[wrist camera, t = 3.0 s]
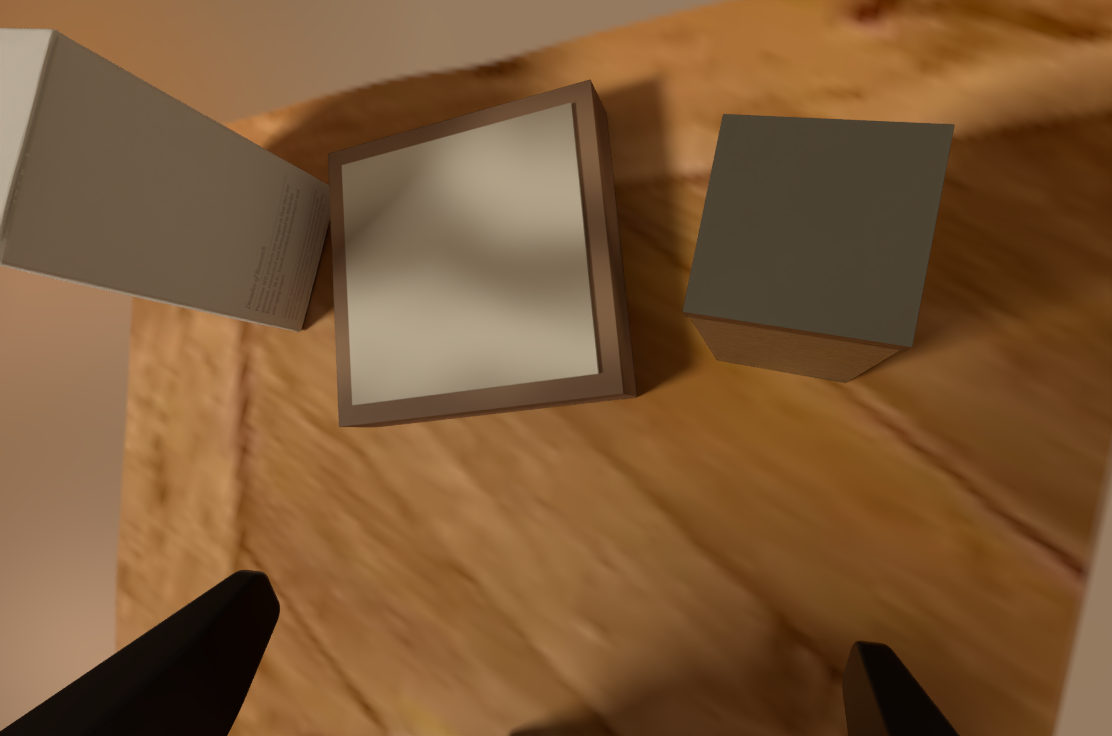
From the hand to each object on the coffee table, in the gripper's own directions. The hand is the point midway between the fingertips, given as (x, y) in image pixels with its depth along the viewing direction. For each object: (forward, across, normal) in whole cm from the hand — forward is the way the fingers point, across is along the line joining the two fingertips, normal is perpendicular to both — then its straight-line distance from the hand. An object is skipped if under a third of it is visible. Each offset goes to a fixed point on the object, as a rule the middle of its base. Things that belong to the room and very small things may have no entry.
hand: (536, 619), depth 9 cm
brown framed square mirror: (+18, +6, +2) cm, 19 cm away
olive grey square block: (+16, -6, +2) cm, 17 cm away
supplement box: (+21, +18, +2) cm, 28 cm away
